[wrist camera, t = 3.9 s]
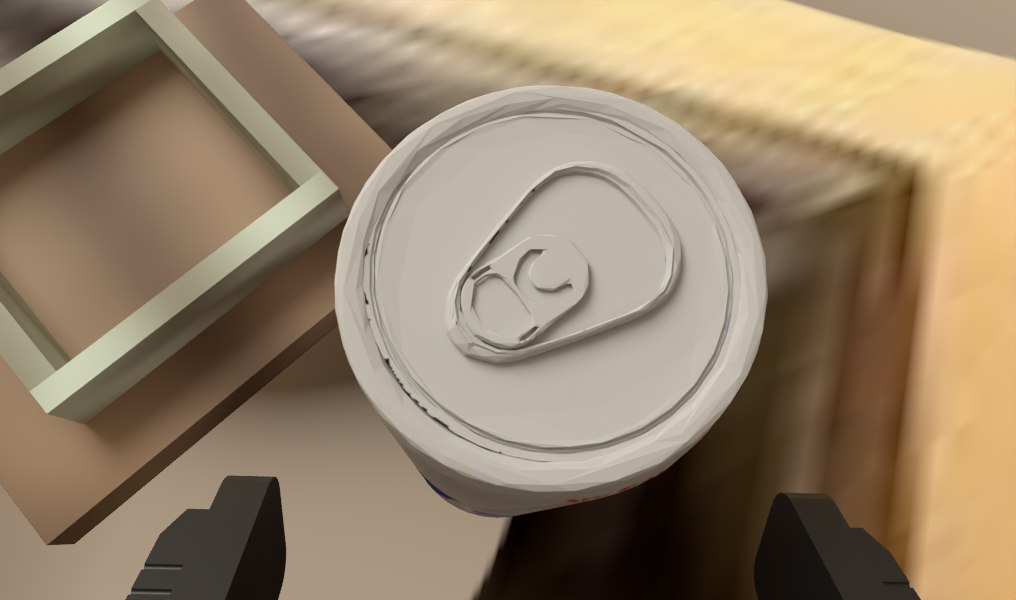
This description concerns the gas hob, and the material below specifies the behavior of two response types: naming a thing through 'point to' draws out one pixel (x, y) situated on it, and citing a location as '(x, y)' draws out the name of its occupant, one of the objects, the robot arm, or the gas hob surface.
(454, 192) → the beverage can
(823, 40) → the gas hob surface
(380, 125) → the gas hob surface
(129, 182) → the board
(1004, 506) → the gas hob surface
